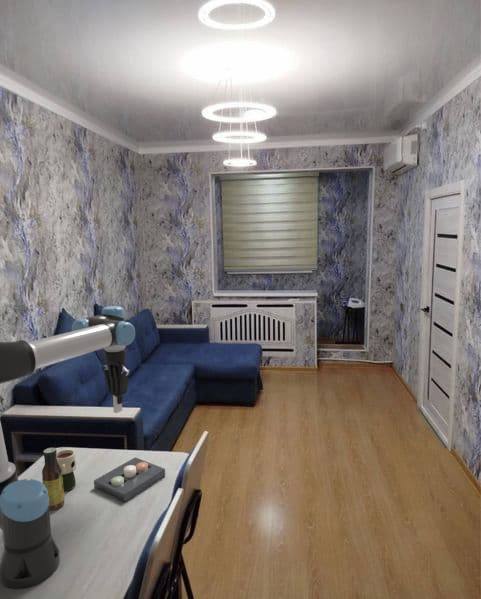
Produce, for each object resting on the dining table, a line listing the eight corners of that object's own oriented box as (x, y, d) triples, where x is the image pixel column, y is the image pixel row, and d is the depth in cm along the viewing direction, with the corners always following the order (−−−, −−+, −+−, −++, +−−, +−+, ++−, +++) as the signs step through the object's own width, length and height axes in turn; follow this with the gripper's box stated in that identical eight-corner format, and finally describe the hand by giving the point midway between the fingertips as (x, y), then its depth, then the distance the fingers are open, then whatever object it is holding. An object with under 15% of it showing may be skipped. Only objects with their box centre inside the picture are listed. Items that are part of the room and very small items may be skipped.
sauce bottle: (68, 505, 152) (64, 450, 149) (49, 513, 147) (45, 457, 144) (59, 497, 156) (55, 444, 153) (41, 505, 152) (37, 450, 149)
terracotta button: (142, 477, 167) (141, 469, 167) (134, 474, 170) (133, 465, 169) (150, 472, 171) (150, 464, 170) (142, 469, 173) (142, 460, 173)
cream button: (130, 481, 162) (129, 472, 162) (121, 478, 165) (121, 469, 164) (138, 476, 166) (138, 467, 165) (130, 472, 168) (130, 463, 168)
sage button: (117, 493, 157) (116, 484, 157) (108, 489, 160) (108, 480, 159) (126, 487, 161) (126, 478, 161) (118, 483, 164) (118, 474, 163)
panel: (124, 502, 153) (124, 494, 152) (94, 488, 162) (93, 480, 161) (165, 476, 169) (164, 468, 169) (135, 464, 178) (135, 457, 178)
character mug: (75, 494, 158) (73, 459, 156) (54, 497, 156) (51, 462, 154) (78, 477, 169) (76, 445, 167) (58, 480, 167) (55, 448, 165)
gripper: (135, 349, 160) (138, 411, 164) (110, 344, 167) (114, 404, 171) (119, 354, 154) (122, 419, 158) (94, 349, 161) (98, 411, 165)
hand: (118, 411), depth 164 cm, fingers closed
